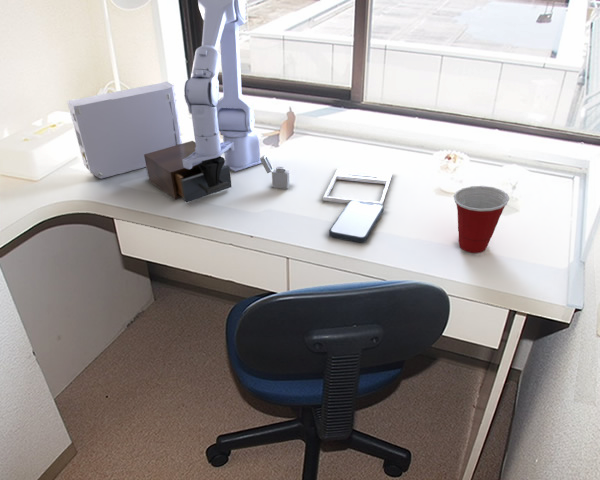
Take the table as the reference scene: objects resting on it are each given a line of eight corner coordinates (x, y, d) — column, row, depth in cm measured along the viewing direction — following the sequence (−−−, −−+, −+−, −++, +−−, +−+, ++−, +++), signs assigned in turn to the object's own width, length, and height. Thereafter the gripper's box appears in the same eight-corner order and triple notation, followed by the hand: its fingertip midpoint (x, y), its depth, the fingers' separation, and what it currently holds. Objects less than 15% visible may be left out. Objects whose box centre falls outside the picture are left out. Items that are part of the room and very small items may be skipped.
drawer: (242, 193, 139) (240, 172, 136) (196, 210, 133) (193, 188, 129) (204, 170, 151) (202, 150, 147) (160, 184, 144) (157, 163, 141)
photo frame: (392, 171, 147) (382, 202, 133) (392, 175, 148) (382, 206, 134) (338, 166, 150) (323, 196, 136) (338, 170, 151) (323, 200, 137)
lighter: (289, 186, 144) (288, 156, 139) (287, 189, 143) (286, 159, 138) (263, 183, 146) (261, 154, 141) (261, 186, 144) (259, 156, 139)
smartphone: (365, 245, 121) (385, 211, 132) (365, 239, 120) (385, 205, 131) (326, 237, 124) (349, 204, 135) (327, 231, 123) (349, 199, 134)
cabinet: (223, 183, 146) (220, 156, 142) (175, 199, 139) (170, 172, 134) (196, 166, 155) (192, 140, 151) (149, 180, 148) (143, 154, 143)
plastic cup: (447, 230, 125) (456, 181, 117) (497, 236, 122) (509, 186, 115) (443, 255, 117) (451, 204, 109) (497, 263, 114) (509, 211, 107)
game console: (186, 157, 160) (176, 86, 148) (93, 181, 148) (73, 106, 136) (178, 150, 164) (167, 81, 152) (86, 174, 152) (66, 100, 140)
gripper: (217, 119, 134) (223, 172, 142) (170, 137, 125) (179, 192, 133) (238, 126, 130) (242, 179, 138) (191, 145, 121) (199, 201, 130)
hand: (213, 186), depth 136 cm, fingers closed
